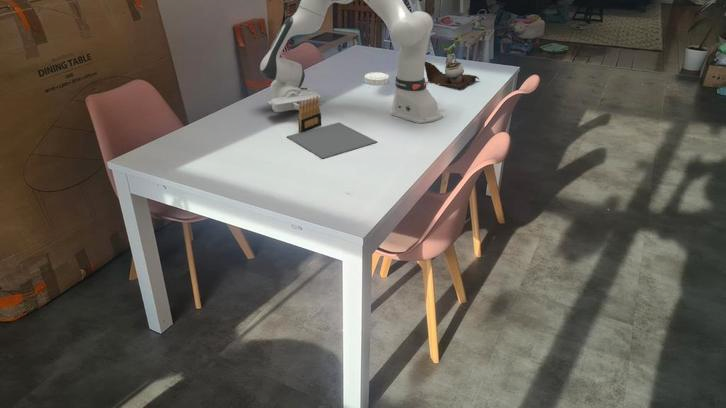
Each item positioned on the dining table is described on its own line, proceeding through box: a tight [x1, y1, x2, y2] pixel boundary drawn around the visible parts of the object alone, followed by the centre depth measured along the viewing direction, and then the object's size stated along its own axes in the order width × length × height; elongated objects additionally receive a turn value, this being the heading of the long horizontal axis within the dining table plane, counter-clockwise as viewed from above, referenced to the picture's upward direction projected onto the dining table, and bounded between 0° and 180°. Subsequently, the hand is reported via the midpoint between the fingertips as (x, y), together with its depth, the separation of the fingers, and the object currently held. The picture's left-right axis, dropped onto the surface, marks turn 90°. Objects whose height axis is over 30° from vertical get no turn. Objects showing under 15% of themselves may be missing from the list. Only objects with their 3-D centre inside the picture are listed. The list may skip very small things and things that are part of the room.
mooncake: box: [363, 71, 390, 86], centre depth 257 cm, size 12×12×4 cm
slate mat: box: [286, 121, 378, 160], centre depth 194 cm, size 24×24×1 cm
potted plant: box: [424, 35, 480, 90], centre depth 253 cm, size 20×19×25 cm
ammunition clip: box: [298, 96, 322, 133], centre depth 201 cm, size 11×2×12 cm, turn 140°
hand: (303, 108), depth 206 cm, fingers closed
